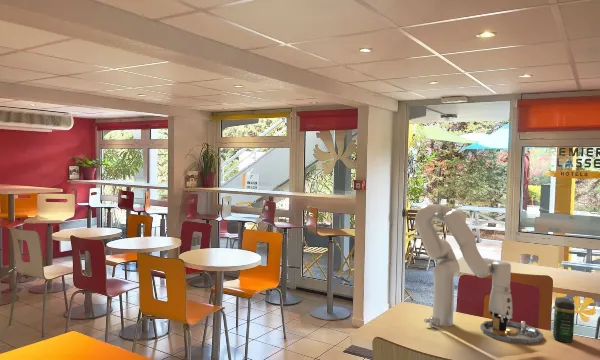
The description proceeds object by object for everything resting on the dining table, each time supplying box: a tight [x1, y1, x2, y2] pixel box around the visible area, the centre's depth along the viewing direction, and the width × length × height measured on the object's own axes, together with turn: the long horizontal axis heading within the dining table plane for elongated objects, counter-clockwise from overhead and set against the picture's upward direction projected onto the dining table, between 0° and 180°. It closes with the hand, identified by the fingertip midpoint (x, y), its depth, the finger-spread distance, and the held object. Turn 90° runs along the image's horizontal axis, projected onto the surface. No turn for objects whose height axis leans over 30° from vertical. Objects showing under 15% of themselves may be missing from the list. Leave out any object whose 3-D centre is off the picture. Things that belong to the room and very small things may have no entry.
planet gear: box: [491, 315, 507, 336], centre depth 211 cm, size 7×7×8 cm
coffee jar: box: [552, 297, 576, 343], centre depth 213 cm, size 10×8×19 cm
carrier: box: [480, 320, 544, 345], centre depth 214 cm, size 25×25×6 cm
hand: (499, 328), depth 211 cm, fingers closed on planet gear, 3 cm apart
